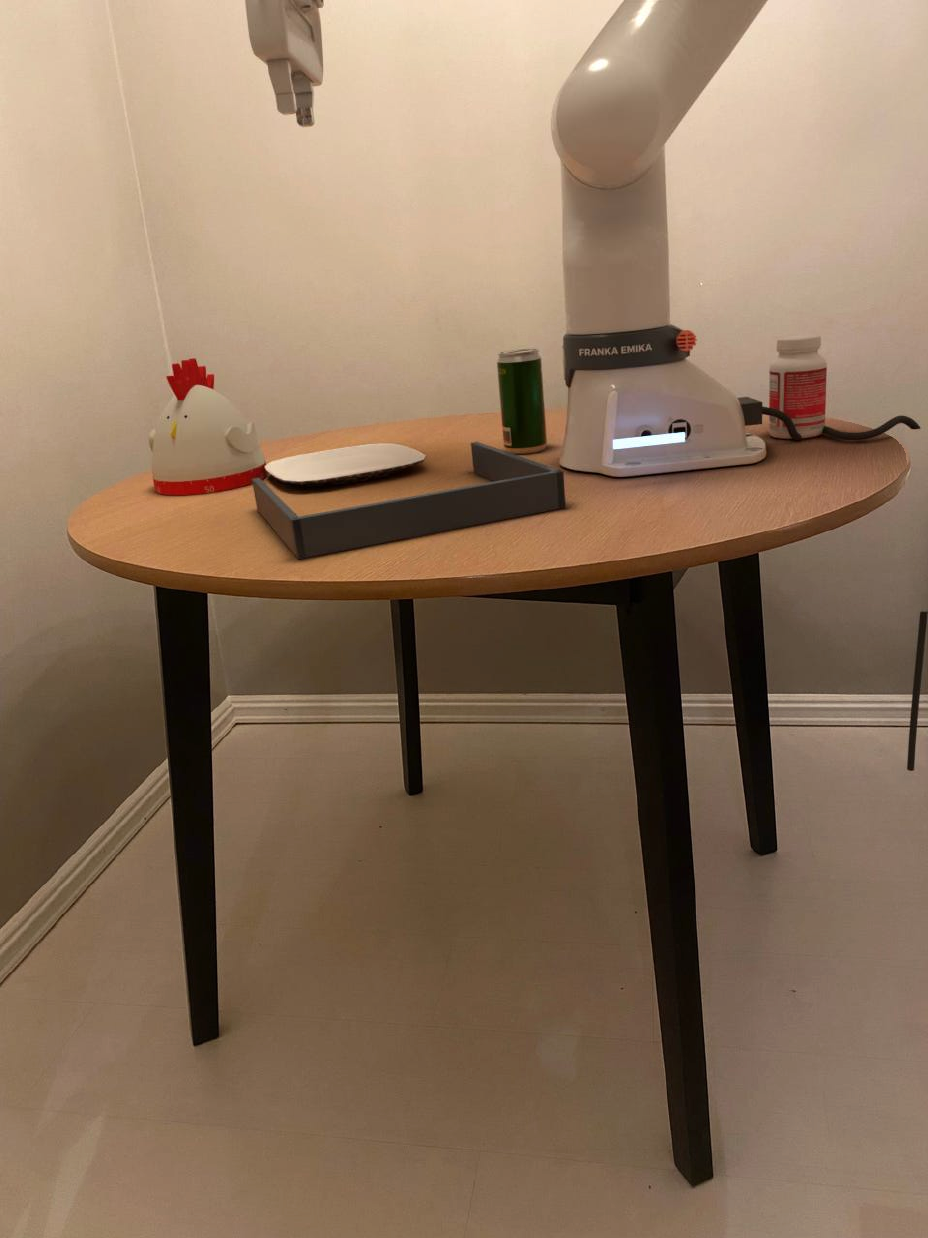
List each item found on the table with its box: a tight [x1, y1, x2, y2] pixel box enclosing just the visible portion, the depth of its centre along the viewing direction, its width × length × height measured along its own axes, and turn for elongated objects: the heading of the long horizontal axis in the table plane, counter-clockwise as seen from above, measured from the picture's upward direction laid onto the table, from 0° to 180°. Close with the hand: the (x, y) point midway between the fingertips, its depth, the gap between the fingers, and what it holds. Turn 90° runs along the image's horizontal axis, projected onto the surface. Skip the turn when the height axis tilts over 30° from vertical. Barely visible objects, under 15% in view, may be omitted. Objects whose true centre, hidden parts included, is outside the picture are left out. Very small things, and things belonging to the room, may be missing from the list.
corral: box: [252, 441, 567, 560], centre depth 93 cm, size 22×26×4 cm
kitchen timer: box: [148, 357, 269, 496], centre depth 115 cm, size 14×14×15 cm
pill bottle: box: [768, 334, 828, 440], centre depth 108 cm, size 6×6×11 cm
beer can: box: [496, 348, 548, 455], centre depth 115 cm, size 5×5×12 cm
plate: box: [265, 442, 427, 487], centre depth 114 cm, size 18×18×2 cm
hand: (297, 119), depth 103 cm, fingers open, 8 cm apart
